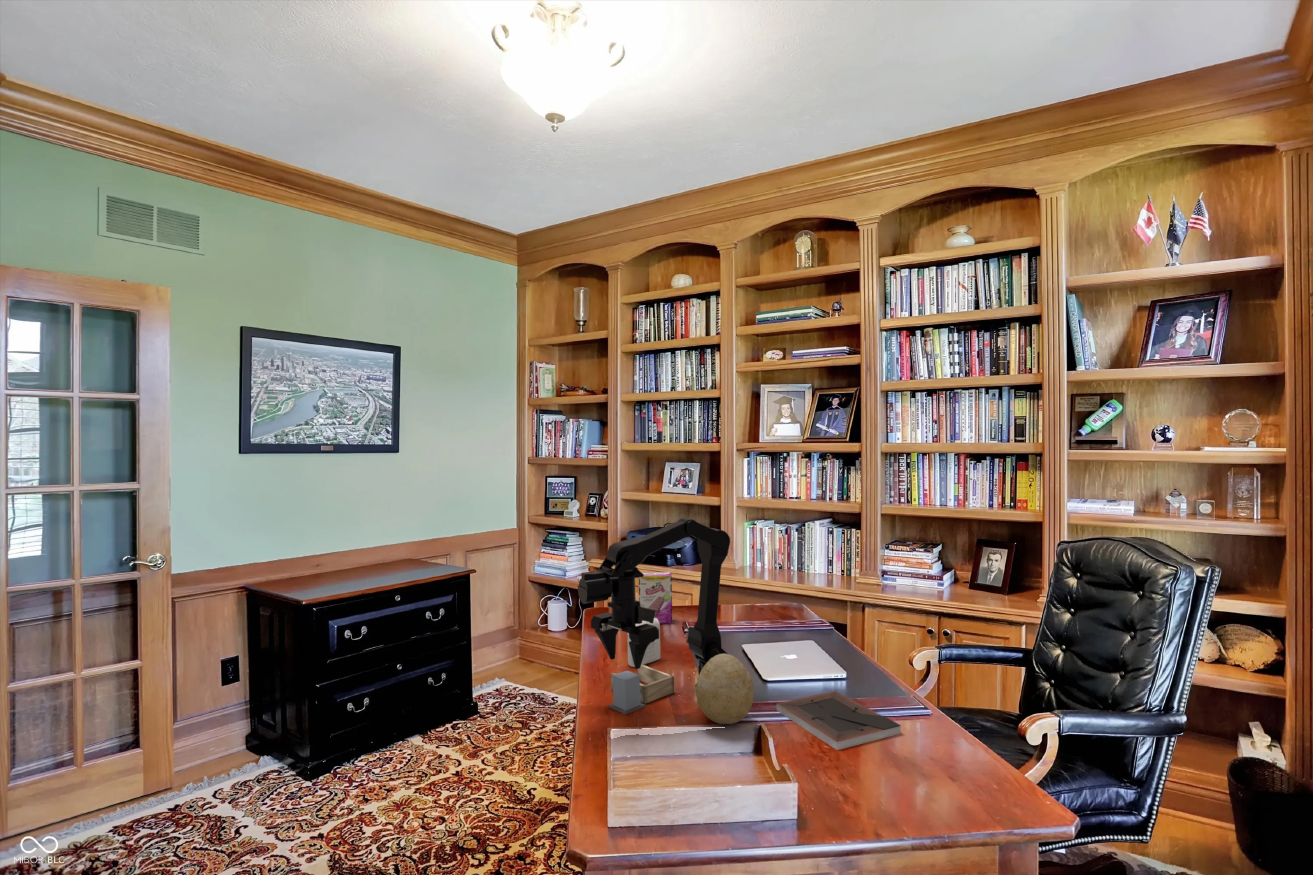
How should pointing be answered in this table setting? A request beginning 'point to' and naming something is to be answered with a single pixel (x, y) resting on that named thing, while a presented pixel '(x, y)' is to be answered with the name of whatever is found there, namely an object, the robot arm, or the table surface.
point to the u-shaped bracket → (653, 684)
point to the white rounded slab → (652, 649)
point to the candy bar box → (657, 595)
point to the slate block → (626, 690)
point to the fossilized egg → (725, 689)
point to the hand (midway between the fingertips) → (625, 663)
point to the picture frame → (838, 719)
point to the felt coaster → (627, 710)
